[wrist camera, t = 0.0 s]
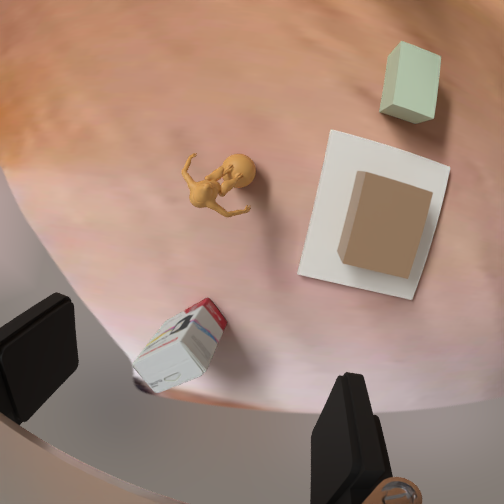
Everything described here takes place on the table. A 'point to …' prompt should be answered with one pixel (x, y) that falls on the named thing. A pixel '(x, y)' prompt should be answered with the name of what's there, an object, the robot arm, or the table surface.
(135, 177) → the table surface
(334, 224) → the plate
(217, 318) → the ink box
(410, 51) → the green brick
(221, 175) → the figurine
